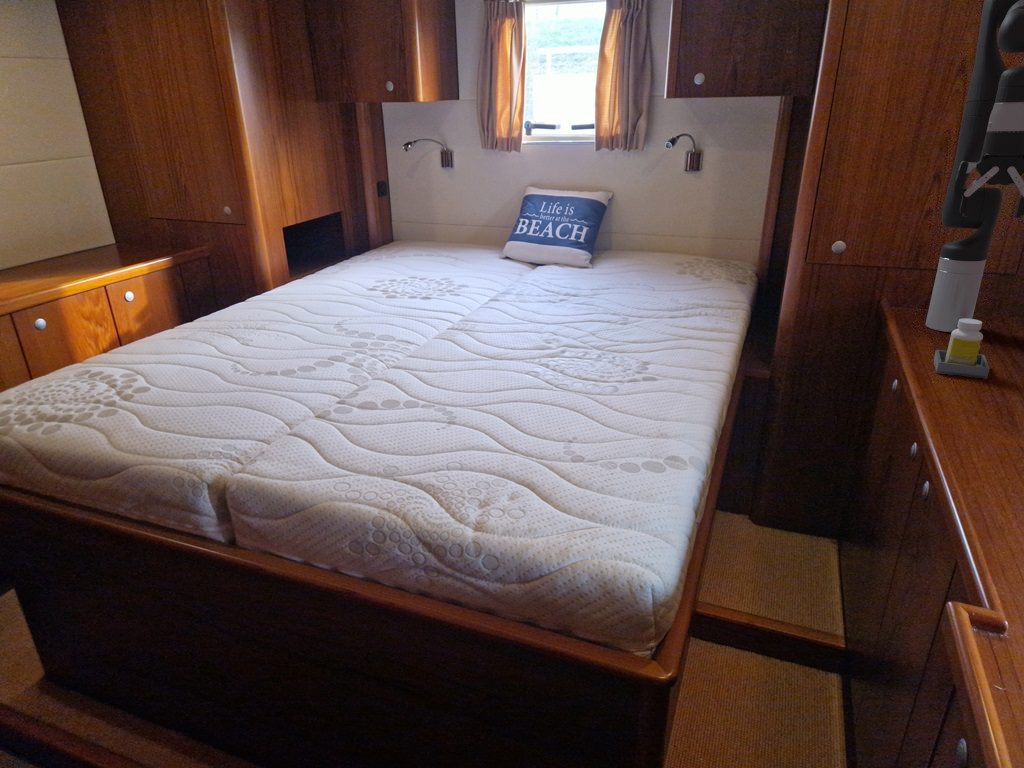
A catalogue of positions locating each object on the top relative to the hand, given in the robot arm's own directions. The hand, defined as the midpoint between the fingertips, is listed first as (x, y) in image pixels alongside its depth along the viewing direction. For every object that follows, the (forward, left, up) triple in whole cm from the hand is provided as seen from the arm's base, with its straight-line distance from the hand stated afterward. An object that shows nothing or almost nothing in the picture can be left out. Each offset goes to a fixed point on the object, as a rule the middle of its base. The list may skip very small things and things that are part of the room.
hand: (990, 216), depth 130 cm
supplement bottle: (+6, 0, -30) cm, 30 cm away
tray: (+6, 0, -30) cm, 31 cm away
